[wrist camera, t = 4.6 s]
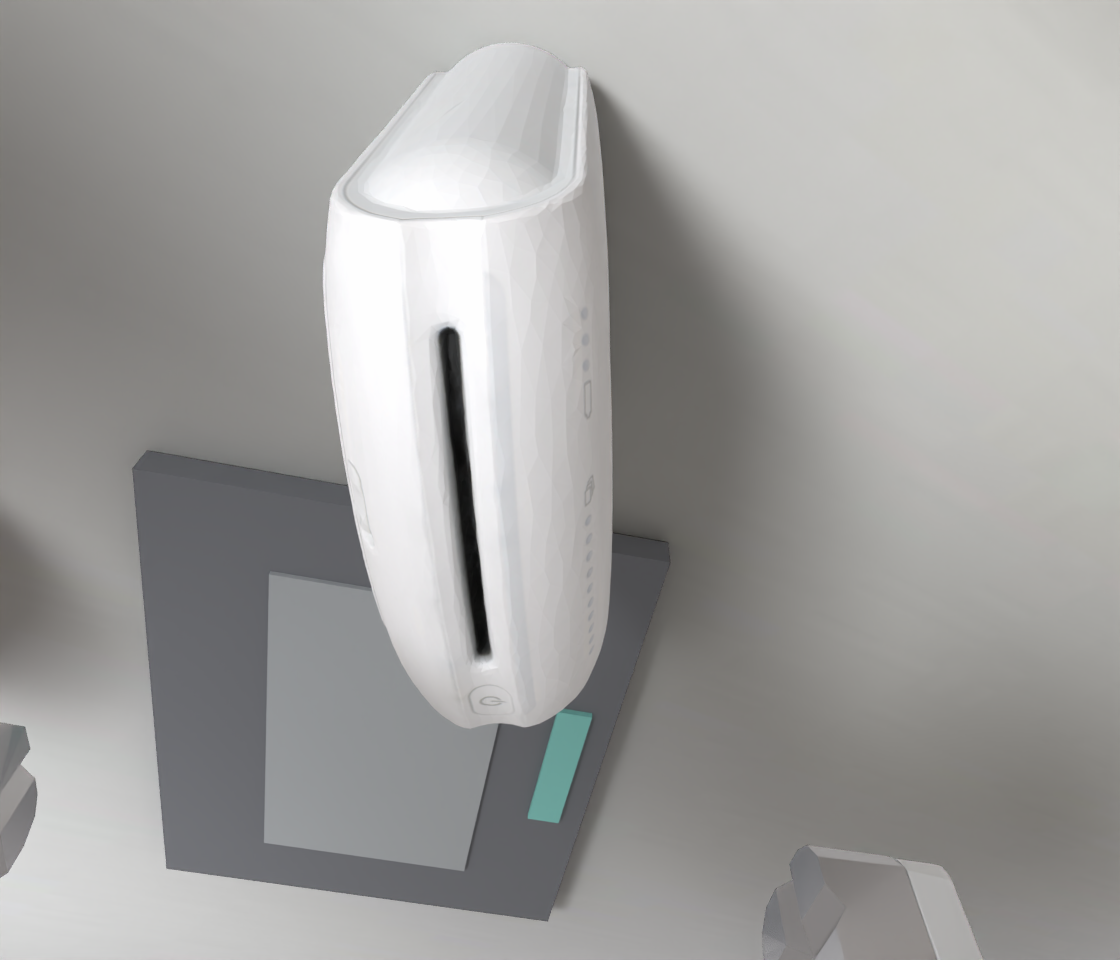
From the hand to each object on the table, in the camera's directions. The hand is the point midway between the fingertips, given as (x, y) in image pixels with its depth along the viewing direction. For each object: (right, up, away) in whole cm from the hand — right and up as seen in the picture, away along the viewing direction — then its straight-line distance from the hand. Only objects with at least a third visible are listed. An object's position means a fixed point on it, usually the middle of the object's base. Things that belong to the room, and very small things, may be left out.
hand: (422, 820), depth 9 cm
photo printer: (0, +9, +14) cm, 17 cm away
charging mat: (-5, -5, +23) cm, 24 cm away
